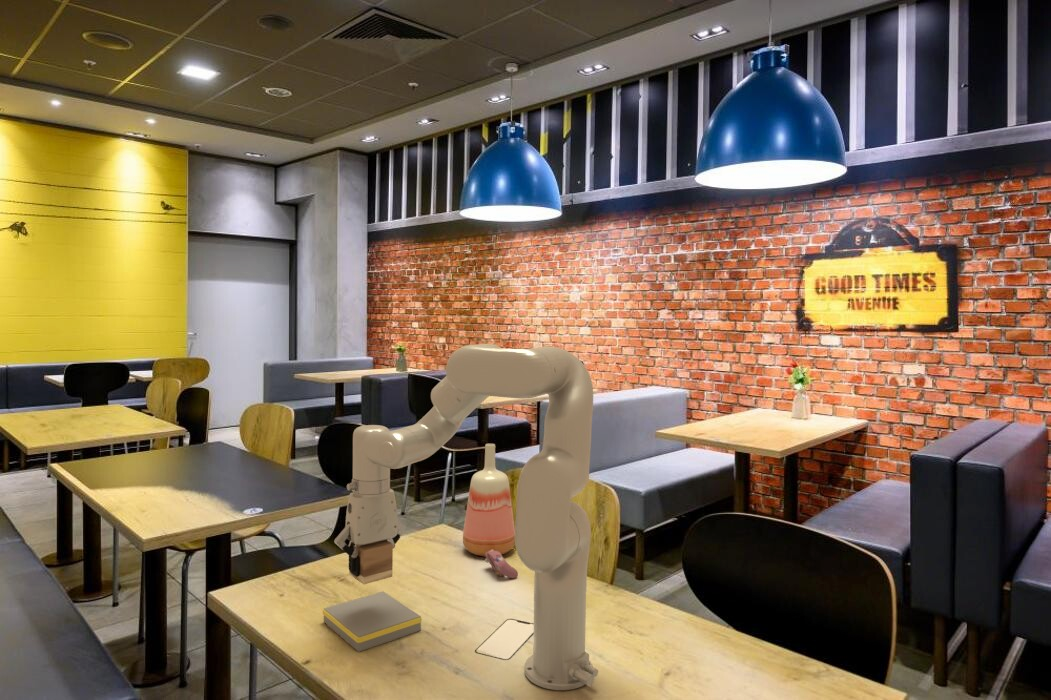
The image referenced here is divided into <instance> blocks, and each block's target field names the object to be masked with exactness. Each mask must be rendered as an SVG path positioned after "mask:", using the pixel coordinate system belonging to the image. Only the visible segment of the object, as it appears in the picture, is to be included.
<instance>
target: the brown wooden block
mask: <svg viewBox="0 0 1051 700" xmlns="http://www.w3.org/2000/svg"><path fill="white" fill-rule="evenodd" d="M349 543H350V541H349ZM349 543H348V544H349ZM393 551H394V550H393V544H392V543H390V542H389V541H388V542H387V541H386V540H384V541H379V542H375V543H371V544H366V545H361V548H360V550H359V553H358V557H360V575H359V576H358V577H356V576H355V575H353V574H352V573H351V572H350V571H349V574H348V575H349V576H351V577H352V578H353V579H355V580H356V581H358V582H359V583H361V584H362V585H367V584H371V583H374V582H379V581H382V580H385V579H390V578H393V563H394V562H393V559H394V558H393V555H394V554H393Z"/></svg>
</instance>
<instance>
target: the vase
mask: <svg viewBox="0 0 1051 700" xmlns="http://www.w3.org/2000/svg"><path fill="white" fill-rule="evenodd" d="M484 450H485V452H484V467H483V469H482V470H481V469H480V470H479V471H477V472H475V473H474V474H473V475H472V477H471V479H470V484H469V485H470V486H469V490H468V491H469V492H468V497H467V498H468V499H467V505H466V511H465V518H464V523H463V524H464V525H463V531H462V544H463V547H464V548H465V550H466V551H467V552H470V553H471V554H472V555H475V556H479V557H485V553H487V552H488V551H491V550H492V549H493V551H498V552H500V553H501V554H502V555H505V554H507V553H509V552H510V551H511V550H512V549H513V548H514V546H515V522H514V515H513V514H514V512H513V505H512V498H511V496H512V495H511V489H510V488H511V487H510V481H509V477H508V475H507V473H505V472H503V471H502V470H498V469H497V468H496V444H495V443H486V444H485V447H484Z"/></svg>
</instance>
